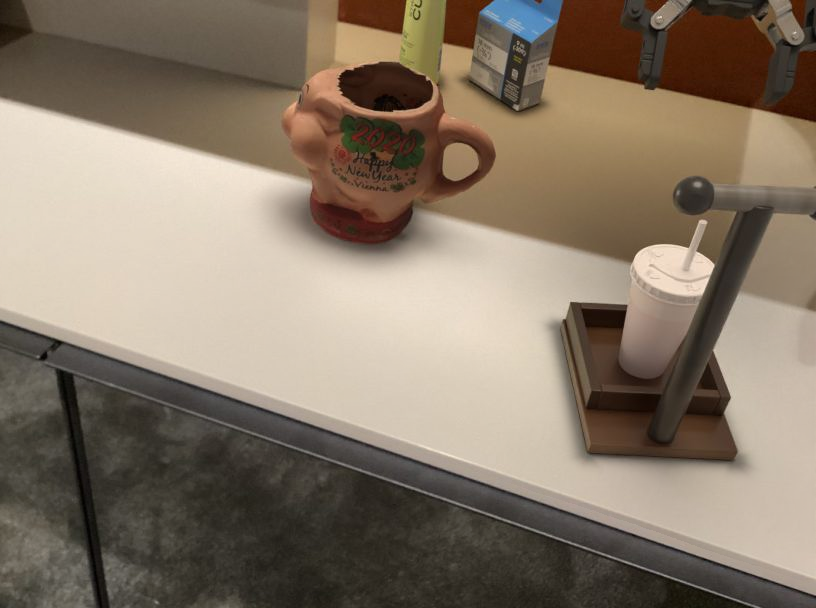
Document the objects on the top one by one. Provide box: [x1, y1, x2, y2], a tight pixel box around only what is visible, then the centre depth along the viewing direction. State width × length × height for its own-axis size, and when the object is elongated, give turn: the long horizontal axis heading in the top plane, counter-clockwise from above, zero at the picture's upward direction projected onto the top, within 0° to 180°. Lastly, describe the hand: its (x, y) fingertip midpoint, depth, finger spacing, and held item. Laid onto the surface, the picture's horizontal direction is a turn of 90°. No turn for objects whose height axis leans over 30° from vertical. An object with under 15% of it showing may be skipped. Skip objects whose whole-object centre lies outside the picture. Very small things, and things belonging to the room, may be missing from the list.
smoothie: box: [618, 219, 715, 379], centre depth 73 cm, size 6×6×14 cm
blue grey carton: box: [468, 0, 564, 112], centre depth 108 cm, size 9×4×12 cm, turn 33°
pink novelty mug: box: [280, 61, 497, 245], centre depth 89 cm, size 20×12×14 cm, turn 75°
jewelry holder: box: [559, 175, 816, 461], centre depth 70 cm, size 11×14×23 cm
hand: (711, 94), depth 70 cm, fingers open, 8 cm apart
